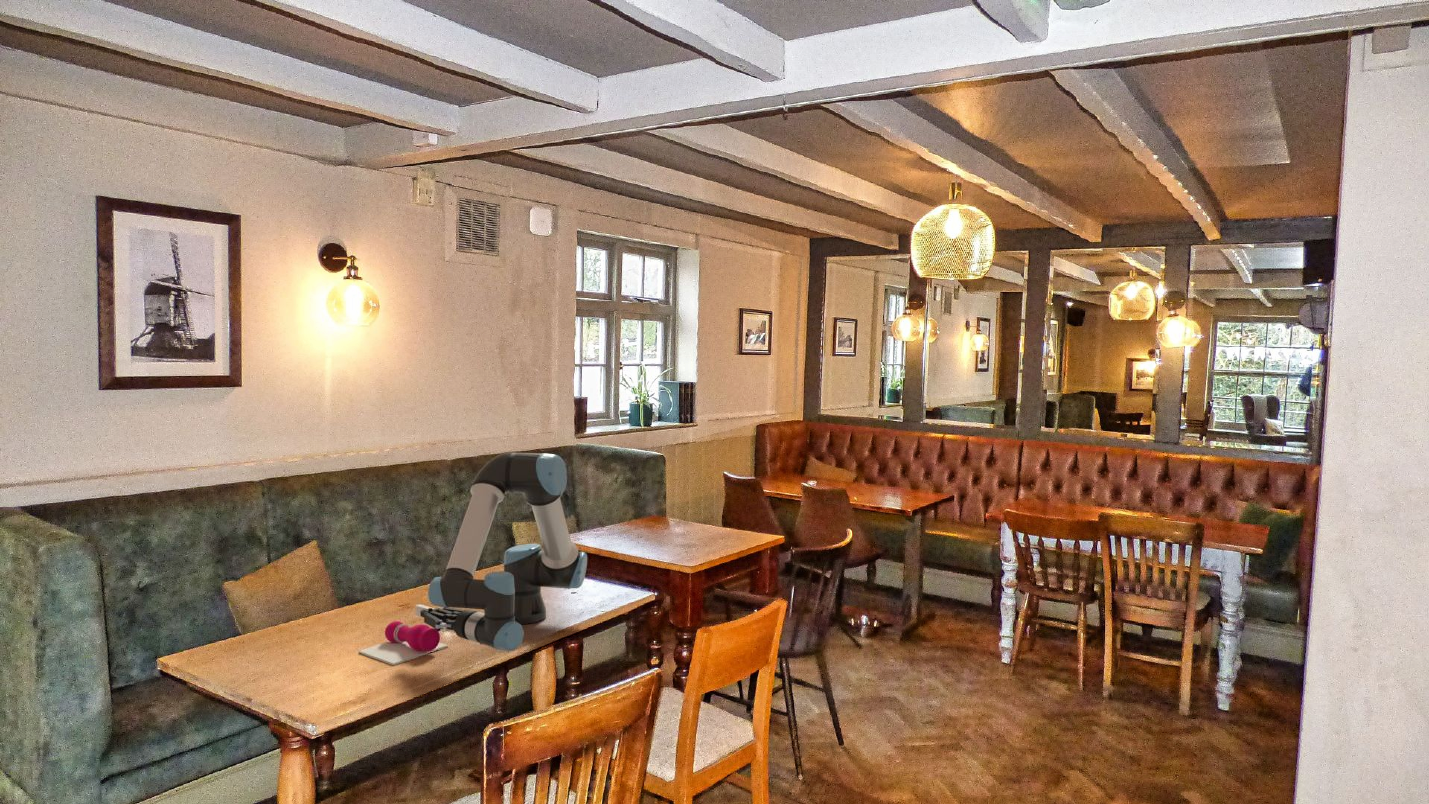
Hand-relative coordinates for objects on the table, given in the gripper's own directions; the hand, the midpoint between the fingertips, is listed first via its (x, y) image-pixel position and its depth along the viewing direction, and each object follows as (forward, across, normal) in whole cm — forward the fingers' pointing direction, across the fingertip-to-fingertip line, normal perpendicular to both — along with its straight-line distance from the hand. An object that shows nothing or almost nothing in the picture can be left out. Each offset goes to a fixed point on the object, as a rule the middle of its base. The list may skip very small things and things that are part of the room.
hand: (417, 609), depth 240 cm
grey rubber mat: (+7, 0, -13) cm, 15 cm away
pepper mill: (-3, +2, -9) cm, 9 cm away
